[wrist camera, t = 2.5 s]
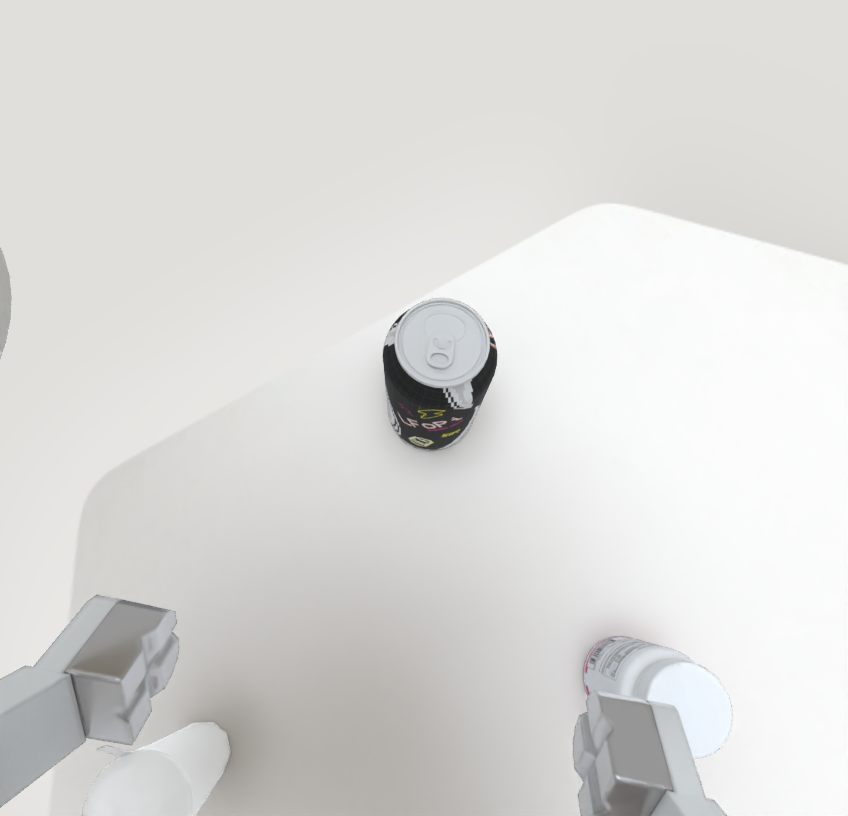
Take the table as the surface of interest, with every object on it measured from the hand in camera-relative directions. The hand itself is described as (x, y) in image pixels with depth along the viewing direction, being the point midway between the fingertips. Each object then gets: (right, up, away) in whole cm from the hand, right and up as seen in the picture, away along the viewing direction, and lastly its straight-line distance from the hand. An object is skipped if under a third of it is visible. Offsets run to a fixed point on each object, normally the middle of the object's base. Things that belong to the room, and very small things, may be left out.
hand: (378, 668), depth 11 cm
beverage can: (+1, +5, +27) cm, 28 cm away
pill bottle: (+13, -11, +23) cm, 28 cm away
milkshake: (-12, -14, +21) cm, 28 cm away
